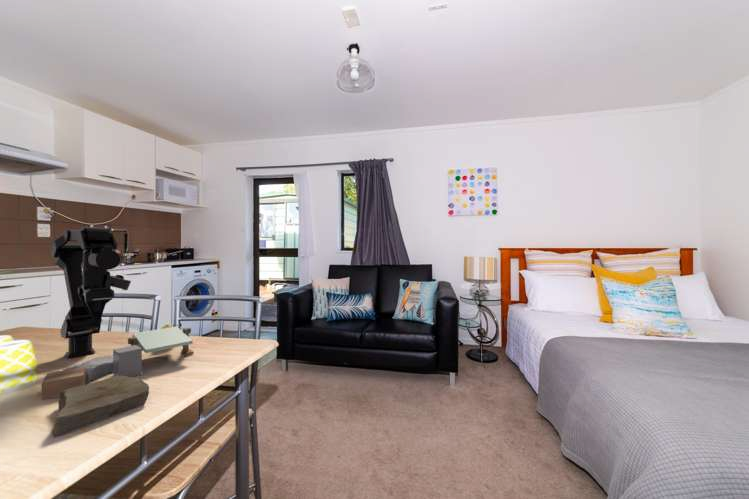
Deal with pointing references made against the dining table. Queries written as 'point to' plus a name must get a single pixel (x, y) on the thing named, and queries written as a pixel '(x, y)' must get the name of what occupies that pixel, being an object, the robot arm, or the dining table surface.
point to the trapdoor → (161, 339)
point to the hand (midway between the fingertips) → (95, 319)
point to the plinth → (62, 381)
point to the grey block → (127, 361)
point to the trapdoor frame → (185, 350)
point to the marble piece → (98, 402)
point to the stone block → (96, 367)
